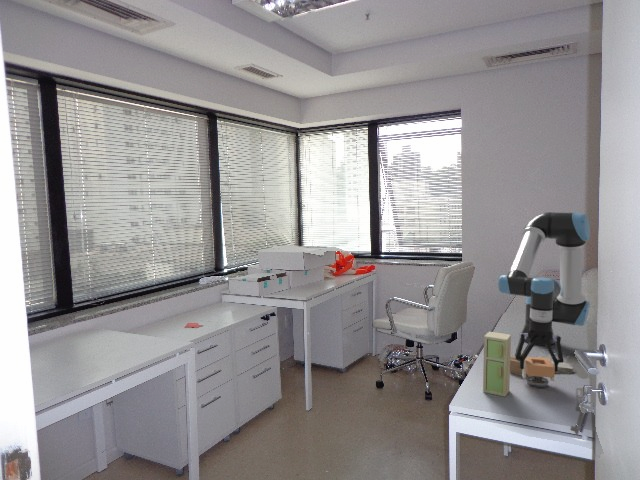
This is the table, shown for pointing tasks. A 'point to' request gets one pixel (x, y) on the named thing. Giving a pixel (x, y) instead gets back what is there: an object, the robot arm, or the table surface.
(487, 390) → the toy refrigerator
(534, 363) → the slotted orange block
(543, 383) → the hub
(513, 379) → the table surface
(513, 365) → the stand
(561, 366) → the stone
